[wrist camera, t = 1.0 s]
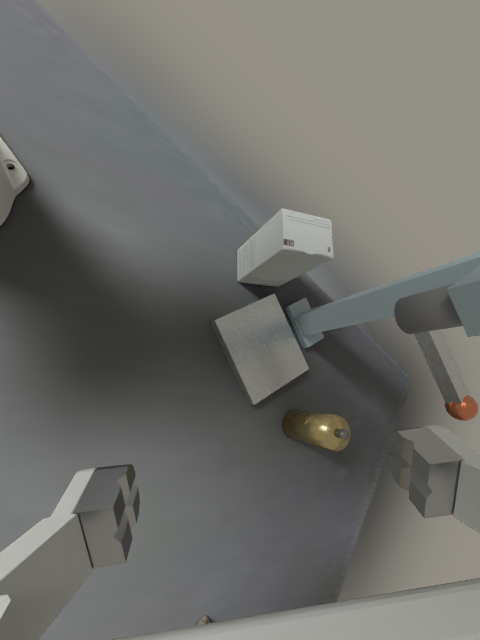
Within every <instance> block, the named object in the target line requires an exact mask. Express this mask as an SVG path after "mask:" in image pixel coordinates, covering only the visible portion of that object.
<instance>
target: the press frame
mask: <svg viewBox="0 0 480 640" xmlns="http://www.w3.org/2000/svg"><path fill="white" fill-rule="evenodd" d="M285 310H286V312H287V314H288V317H289V319H290V321H291V323H292V325H293V327H294V330H295V332H296V334H297V336H298V338H299V341H300V343H301V345H302V347H303V349H304V348H308V347H310V346H311V345H313V344H315V343H316V342H318V341H320V340H321V339H323V338H324V336H323V334H322V332H324V331H328V330H333V329H337V328H342V327H346V326H351V325H355V324H360V323H364V322H369V321H373V320H378V319H382V318H387V317H391V316H395V319H396V322H397V324H398V326H399V327H400V328H401V330H402V331H404V332H405V333H407V334H413V333H420V332H426V331H433V330H439V329H445V328H452V327H458V326H463V327H464V329H465V331H466V334H467V336H468V337H471V336H479V335H480V252H478V253H475V254H472V255H469V256H466V257H463V258H460V259H457V260H454V261H452V262H449V263H446V264H443V265H440V266H437V267H434V268H431V269H428V270H425V271H422V272H419V273H416V274H413V275H410V276H407V277H404V278H401V279H398V280H395V281H392V282H389V283H387V284H384V285H381V286H378V287H375V288H372V289H369V290H366V291H363V292H360V293H357V294H354V295H351V296H348V297H345V298H342V299H339V300H336V301H333V302H330V303H327V304H325V305H322V306H319V307H316V308H313V309H311V307H310V305H309V303H308V301H307V299H306V298H303V299H301V300H299V301H297V302H295V303H293V304H291V305H289V306H287V307H285Z"/></svg>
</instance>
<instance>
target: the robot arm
mask: <svg viewBox="0 0 480 640" xmlns="http://www.w3.org/2000/svg"><path fill="white" fill-rule="evenodd" d="M9 167H13V168H15V169H13V170H9V169H8V168H9ZM28 183H29V176H28V174H27V173H26V171H25V169H24V168H23V167H22V165H21V164H20V163H19V161H18V160H17V159H16V157H15V156H14V154H13V153H12V152H11V150H10V149H9V148H8V146H7V145H6V144H5V142H4V141H3V140H2V138H1V137H0V226H1V225H2V224H3V222H4V221H5V220H6V218H7V217H8V215H9V213H10V210H11V207H12V204H13V201H14V199H15V197H16V196H17V195H18V194H19V193H20V192H21V191H22V190H23V189H24V188H25V187H26V186H27V185H28ZM390 443H391V444H392V446H393V447H394V448H393V449H392V451H391V452H390V453H389V467H390V470H391V473H392V475H393V477H394V479H395V481H396V482H397V483H398V485H399V486H400V487H402V488H404V489H406V490H407V491H409V499H410V500H411V502H412V503H413V504H414V505H415V506H416V508H417V509H418V511H419V512H420V513H421V515H422V516H423V517H424V518H428V517H437V516H446V515H453V516H454V517H455V518H457V519H458V520H460V521H461V522H463V523H464V524H466V525H467V526H469V527H470V528H472V529H473V530H475V531H476V532H478V533H479V534H480V455H479V454H477V453H476V452H475V451H474V450H472V449H471V448H470V447H469V446H467V445H466V444H465V443H464V442H462V441H461V440H460V439H459V438H457V437H456V436H455V435H454V434H452V433H451V432H450V431H449V430H447V429H446V428H445V427H444V426H441V425H439V424H435V425H429V426H423V427H418V428H411V429H403V430H396V431H392V433H391V435H390ZM134 478H135V471H134V467H133V465H131V464H127V465H117V466H108V467H98V468H91V469H82V470H79V471H78V472H77V473H76V474H75V476H74V477H73V479H72V481H71V483H70V484H69V486H68V488H67V489H66V491H65V493H64V494H63V496H62V498H61V500H60V501H59V503H58V505H57V506H56V508H55V510H54V511H53V513H52V515H51V517H49V518H44V519H43V520H41V521H40V522H39V523H38V524H36V525H35V526H34V527H32V528H31V529H30V530H29V531H27V532H26V533H25V534H23V535H22V536H21V537H20V538H18V539H17V540H16V541H15V542H13V543H12V544H11V545H9V546H8V547H7V548H6V549H4V550H3V551H2V552H0V640H38V639H39V638H40V637H41V636H42V634H43V633H44V632H45V631H46V629H47V628H48V627H49V625H50V624H51V623H52V622H53V620H54V619H55V618H56V617H57V615H58V614H59V613H60V612H61V610H62V609H63V608H64V607H65V605H66V604H67V603H68V601H69V600H70V599H71V598H72V596H73V595H74V594H75V593H76V591H77V590H78V589H79V588H80V586H81V585H82V584H83V583H84V581H85V580H86V579H87V577H88V576H89V575H90V574H91V572H92V571H93V570H92V569H94V568H99V567H105V566H110V565H116V564H121V563H126V560H127V556H128V553H129V549H130V545H131V542H132V534H131V529H132V527H133V526H134V525H135V524H136V523H137V519H138V515H139V505H140V499H139V490H138V487H137V486H136V485H135V484H133V481H134ZM111 640H480V578H478V579H471V580H465V581H459V582H453V583H447V584H442V585H435V586H430V587H423V588H417V589H412V590H406V591H400V592H394V593H388V594H382V595H376V596H370V597H364V598H358V599H352V600H346V601H340V602H334V603H328V604H322V605H316V606H310V607H304V608H298V609H292V610H285V611H279V612H273V613H267V614H261V615H255V616H249V617H243V618H237V619H231V620H225V621H219V622H213V623H207V624H201V625H195V626H189V627H183V628H177V629H171V630H165V631H159V632H153V633H147V634H141V635H135V636H129V637H123V638H117V639H111Z"/></svg>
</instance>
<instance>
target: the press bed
mask: <svg viewBox="0 0 480 640" xmlns="http://www.w3.org/2000/svg"><path fill="white" fill-rule="evenodd" d="M210 324H211V326H212V328H213V330H214V332H215V335H216V337H217V339H218V341H219V343H220V345H221V347H222V350H223V352H224V354H225V356H226V358H227V360H228V363H229V365H230V367H231V369H232V371H233V373H234V376H235V378H236V380H237V382H238V384H239V386H240V388H241V391H242V393H243V395H244V397H245V399H246V401H247V404H249V405H255V404H256V403H258V402H260V401H261V400H263V399H264V398H266V397H267V396H269V395H270V394H272V393H273V392H275V391H276V390H278V389H279V388H281V387H282V386H284V385H285V384H287V383H288V382H290V381H291V380H293V379H295V378H296V377H298V376H299V375H301V374H302V373H304V372H305V371H307V370H308V369H309V367H308V365H307V363H306V361H305V358H304V356H303V354H302V352H301V350H300V348H299V345H298V343H297V341H296V339H295V337H294V335H293V332H292V330H291V328H290V326H289V324H288V321H287V319H286V317H285V315H284V313H283V311H282V308H281V306H280V304H279V302H278V300H277V298H276V295H275V293H274V294H272V295H270V296H267V297H265V298H263V299H261V300H259V301H256V302H254V303H252V304H250V305H247V306H245V307H243V308H241V309H238V310H236V311H234V312H232V313H230V314H227V315H225V316H223V317H221V318H218V319H216V320H214V321H212V322H210Z"/></svg>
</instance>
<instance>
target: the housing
mask: <svg viewBox="0 0 480 640" xmlns="http://www.w3.org/2000/svg"><path fill="white" fill-rule="evenodd" d="M282 427H283V431H284V433H285V434H286V436H287V437H289V438H291V439H295V440H298V441H302V442H305V443H309V444H312V445H316V446H319V447H323V448H326V449H330V450H334V451H341V450H343V449H344V448H345V447H346V446H347V445H348V442H349V440H350V428H349V425H348V423H347V421H346V420H345V419H344V418H343V417H341V416H338V415H331V414H324V413H316V412H309V411H301V410H290V411H288V412H287V413H286V414H285V416H284V418H283V422H282Z"/></svg>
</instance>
